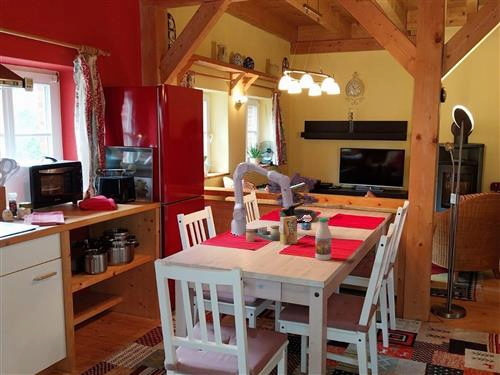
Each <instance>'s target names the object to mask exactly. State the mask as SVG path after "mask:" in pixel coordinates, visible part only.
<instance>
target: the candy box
mask: <svg viewBox="0 0 500 375" xmlns="http://www.w3.org/2000/svg"><path fill="white" fill-rule="evenodd" d="M279 234H280V240H279V241H280V242H279V244H281V245H283V246H284V245H285V246H286V245H294V244H297V243H298V222H297V217H295V216H290V217H280V218H279Z"/></svg>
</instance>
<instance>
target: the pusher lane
mask: <svg viewBox="0 0 500 375" xmlns="http://www.w3.org/2000/svg"><path fill="white" fill-rule="evenodd" d="M258 228H259V227H257V228H254V229H255V238H258V239H261V240H264V241H268V242H277V241H280V233H279V234H277V235H272V237H271V231H269V230H267V234H265V235H262V234H258Z"/></svg>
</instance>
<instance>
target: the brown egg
mask: <svg viewBox="0 0 500 375" xmlns="http://www.w3.org/2000/svg"><path fill="white" fill-rule="evenodd" d="M270 232H271V237H272V235H277V234H280V225H271V226H270Z"/></svg>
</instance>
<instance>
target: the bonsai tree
mask: <svg viewBox="0 0 500 375" xmlns="http://www.w3.org/2000/svg"><path fill="white" fill-rule="evenodd" d="M317 181H318V180H317V179H315V178H314V179H313V178H312V177H309V176H308V177H306V176H301V174H300V173H298V172H296V173H293V175H292V176H291V177H290V187H291V186H292V185H294V184H295V185H299V184H300V183H304V184H302V185H301V187H300V191H303V190H304V189H307V190H308V191H312V190H313V189H315V186H314V185H315V184H317V183H318V182H317ZM267 183H268V185H270V186H273V187H274V188H268V189H267V193H268V194H270V195H271V194H273V195H278V196H274V198H273V199H274V201H276V202H277V203H278V206H279V207H280V208H282V207H283V208H284V206H283V198H282V192H281V186H280V185H279V183H276V182H273V181H268V182H267ZM291 193H292V199H293V203H295V210H294V216H295V217H297V219H301V218H302V217H303V216H304V215H306V214H308V215H310V216H311V217H312V220H311V221H313V219H315V218H316V217H317V214H318V212H316V211H315V210H314V209H304V208H299V207H301V206H304V205H309V204H310V205H311V204H315V203H316V204H317V203H319V202H320V200H319V198H316V197H315V196H314V195H313V196H312V195H311V196H310V195H308V193H303V194H301V193H299V192H297V191H295V190H294V189H292V188H291ZM278 215H279V217H280V218H281V217H286V215H285V213H284V212H283V210H279V211H278Z"/></svg>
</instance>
